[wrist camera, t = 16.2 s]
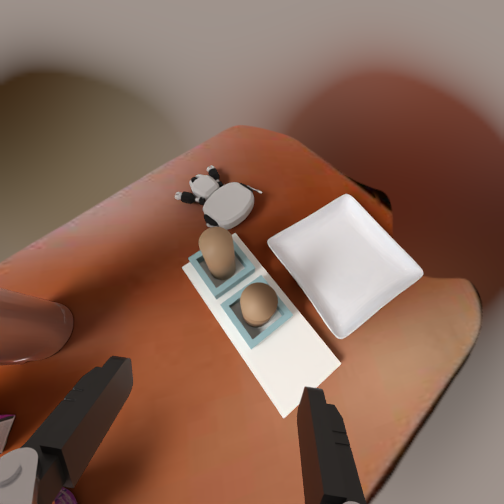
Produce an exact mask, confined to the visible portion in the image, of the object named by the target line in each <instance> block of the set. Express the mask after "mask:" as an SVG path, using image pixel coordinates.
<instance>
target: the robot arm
mask: <svg viewBox="0 0 504 504" xmlns="http://www.w3.org/2000/svg"><path fill="white" fill-rule="evenodd" d="M72 329H73V316H72V313H71V312H70V310H69V309H68V308H67V307H66V306H64V305H62V304H60V303H56V302H52V301H48V300H44V299H41V298H37V297H33V296H29V295H25V294H21V293H17V292H14V291H10V290H6V289H2V288H0V365H16V364H24V363H25V362H27V361H34V360H41V359H45V358H47V357H50V356H52V355H53V354H55V353H56V352H58V351H59V350H60V349H61V348H62V347H63V346H64V345H65V343H66V342H67V340H68V339H69V337H70V335H71V332H72ZM132 386H133V375H132V365H131V359H130V358H125V357H118V356H112V357H110V358H109V359H108V361H107V362H106V363H105V364H104V365H103V367H102V368H101V367H95V368H94V369H92V370H91V371H90V372H88V373H87V374H85V375H84V376H83V377H82V378H81V379H80V380H79V381H78V383H77V384H76V385H75V386H74V387H73V389H72V390H71V391H70V392H69V393H68V394H67V395H66V397H65V398H64V400H63V401H61V402H60V404H59V405H58V406H57V407H56V408H55V409H54V411H53V412H52V413H51V414H50V415H49V416H48V418H47V419H46V420H45V421H44V422H43V423H42V425H41V426H40V427H39V428H38V429H37V430H36V432H35V433H34V434H33V435H32V436H31V437H30V439H29V440H28V441H27V442H26V443H25V444H24V445H23V446H22V447H21V448H19V449H16V450H13V451H11V452H9V453H7V454H5V455H4V456H2V457H1V458H0V504H55V498H56V496H57V495H58V493H59V492H60V490H61V489H62V487H63V486H64V487H69V488H74V487H75V485H76V484H77V482H78V480H79V479H80V477H81V475H82V474H83V472H84V470H85V469H86V467H87V465H88V463H89V462H90V460H91V458H92V457H93V455H94V453H95V452H96V450H97V448H98V447H99V445H100V443H101V442H102V440H103V438H104V437H105V435H106V433H107V432H108V430H109V428H110V427H111V425H112V423H113V422H114V420H115V418H116V416H117V415H118V413H119V411H120V410H121V408H122V406H123V405H124V403H125V401H126V400H127V398H128V396H129V394H130V392H131V389H132ZM297 426H298V436H299V446H300V456H301V466H302V476H303V486H304V496H305V504H367V503H366V501H365V498H364V494H363V491H362V487H361V484H360V480H359V476H358V473H357V469H356V465H355V462H354V458H353V454H352V451H351V448H350V443H349V440H348V436H347V435H346V429H345V425H344V422H343V418H342V416H341V415H340V413H339V412H338V410H337V408H336V407H335V405H331V404H326V400H325V396H324V392H323V390H322V389H319V388H313V387H306V386H305V387H304V390H303V394H302V397H301V400H300V404H299V407H298V413H297Z"/></svg>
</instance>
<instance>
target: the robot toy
mask: <svg viewBox="0 0 504 504" xmlns="http://www.w3.org/2000/svg"><path fill="white" fill-rule="evenodd" d="M207 171H208V172H209V175H210V176H208V175H201V174H198V175H196V177H193V178H192V179H191V180H190V182H189V184H190V186H191V189H192V192H193V194H194V195H193V194H192V193H188V192H183V193H181V192H177V193H176V195H175V199H177V200H182V202H185V203H190V204H191V203H194V202H199V203H200V204H201V205H204V206H203V212H204V214H205V215H204V219H205V221H206V223H207V224H206V225H207V226H208V227H222V228H224V229H226V230H227V229H231V228H233V227H235V226H237V225H238V224H239V223H241V222H242V221H243V220H245V219H246V217H247V216H248V215H249V213H250V212H251V210H252V208H253V206H254V195H253V191H252V190H254V191H257V192H259V193H262V191H259V190H256V189H254V188H251V187H250V186H248V185H247V186H246V185H245V184H242V183H238V182H232V183H228V184H226V185H224V186H223V184H222V182H221V181H219V174H218V172H217V170H216V169H215V167H214V166H213V165H212V166H211V168H209V167H207ZM251 189H252V190H251Z"/></svg>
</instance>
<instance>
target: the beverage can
mask: <svg viewBox="0 0 504 504" xmlns="http://www.w3.org/2000/svg"><path fill="white" fill-rule="evenodd" d="M55 504H77V502H76V499H75V497H74V495H73V494H72V493H71V492H70V491H69V490H68V489H66V488H63V487H62V489H61V490H60V492H59V493H58V495H57V496H56V498H55Z"/></svg>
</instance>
